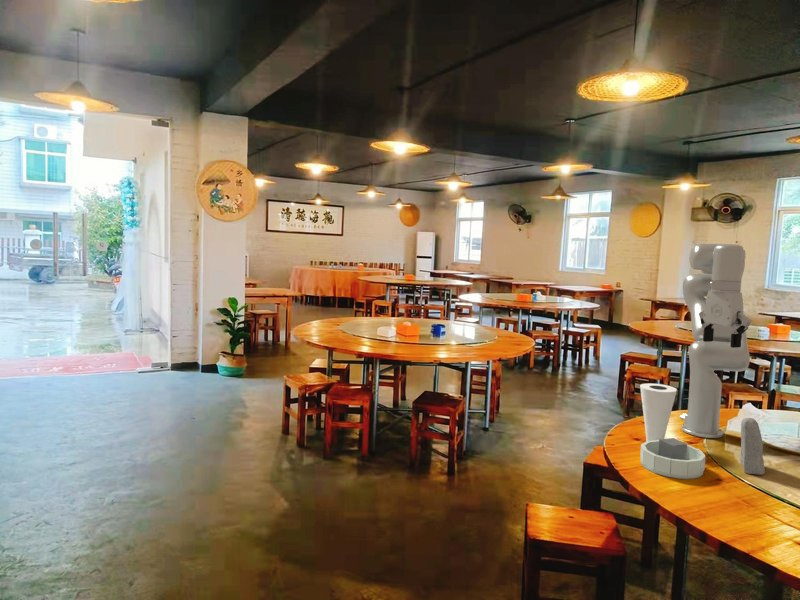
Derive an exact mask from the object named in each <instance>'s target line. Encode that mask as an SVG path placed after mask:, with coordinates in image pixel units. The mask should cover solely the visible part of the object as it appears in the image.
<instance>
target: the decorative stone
mask: <svg viewBox="0 0 800 600" xmlns="http://www.w3.org/2000/svg"><path fill="white" fill-rule="evenodd" d="M740 444H741V445H740V447H741V448H740V462H741V464H742V469H743V472H744V473H745V474H749V475H757V476H758V475H761V476H762V475H765V474H766V473H765V472H766V470H765V461H764V457H763V454H764V450H763V449H764V445H763V438H762V433H761V429H760V426H759V423H758V421H757V420H756V419H755V418H753V417H744V418H743V419H742V420H741V424H740Z"/></svg>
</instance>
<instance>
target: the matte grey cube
mask: <svg viewBox="0 0 800 600" xmlns="http://www.w3.org/2000/svg"><path fill="white" fill-rule="evenodd" d="M687 445H688V444H687V443H685V442H683V441H681V440H678V439H677V438H675V437H672V438H671V437H669V438H664V439H659V451H658V455H659V456H663V457H666V458H670V459H678V460H686V451H687Z"/></svg>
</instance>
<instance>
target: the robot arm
mask: <svg viewBox="0 0 800 600" xmlns="http://www.w3.org/2000/svg"><path fill="white" fill-rule="evenodd" d="M689 252H690V253H689V258H688V259H689V265H690V267H691V269H692V270H698V271H699V272H701V273H699V272H698V273H692V274H689V275H687V276H685V278H684V279H683V281H682V294H683V298H684V299H683V300H684V302H685V304H686V306H687V309H688V311H689V313H690V322H691V333H692V338H693V340H694V342H692V343H691V344H690V345H689V348H688V357H689V360H688V361H689V387H688V388H689V389H688V390H689V391H688V402H687V412H684V413H682V414H681V415H680V416H679V419H680V420H683V421H684V423H682V424H681V430H682V431H683V432H684V433H687V434H688V435H692V436H695V437H700V438H706V439H720V438H722V437H724V434H725V433H724V431H723V430H722V429H721V428H720V427H719V425H720V416H721V414H720V413H721V404H722V403H721V402H722V401H721V400H722V390H723V389H722V387H723V385H722V381H721V379H720V377H719V376H718V375H717V374H716V373H715V372H714V371H727V372H745V371H746V370H747V369H748V368H749V366H750V359H751V358H750V350H749V345H748V337H747V330H748V329H749V326H751V323H752V320H751V319H750V318H749V317H747V316H746V315H744V299H743V293H742V292H741V290H742V278H743V275H744V271H745V266H746V261H745V260H746V251H745V250H744V247H743V246H742V245H740V244H735V243H734V244H733V243H730V244H729V243H699V244H694V245H693V246H692V248H691V249H690V251H689Z"/></svg>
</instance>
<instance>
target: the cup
mask: <svg viewBox="0 0 800 600" xmlns="http://www.w3.org/2000/svg"><path fill="white" fill-rule="evenodd" d="M639 387H640V389H639V390H640V396H641V404H642V412H643V421H644V429H645V430H644V431H645V438H646V441H652V440H659V439H665V437H666V432H667V428H668V425H669V422H670V417H671V413H672V411H673V407H674V404H675V400H676V399H675V398H676V395H677V392H678V389H677V388H676V387H673V386H672V385H671V386H670V385H666V384H662V383H649V382H648V383H641V384H640V385H639ZM646 441H645V442H646Z"/></svg>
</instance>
